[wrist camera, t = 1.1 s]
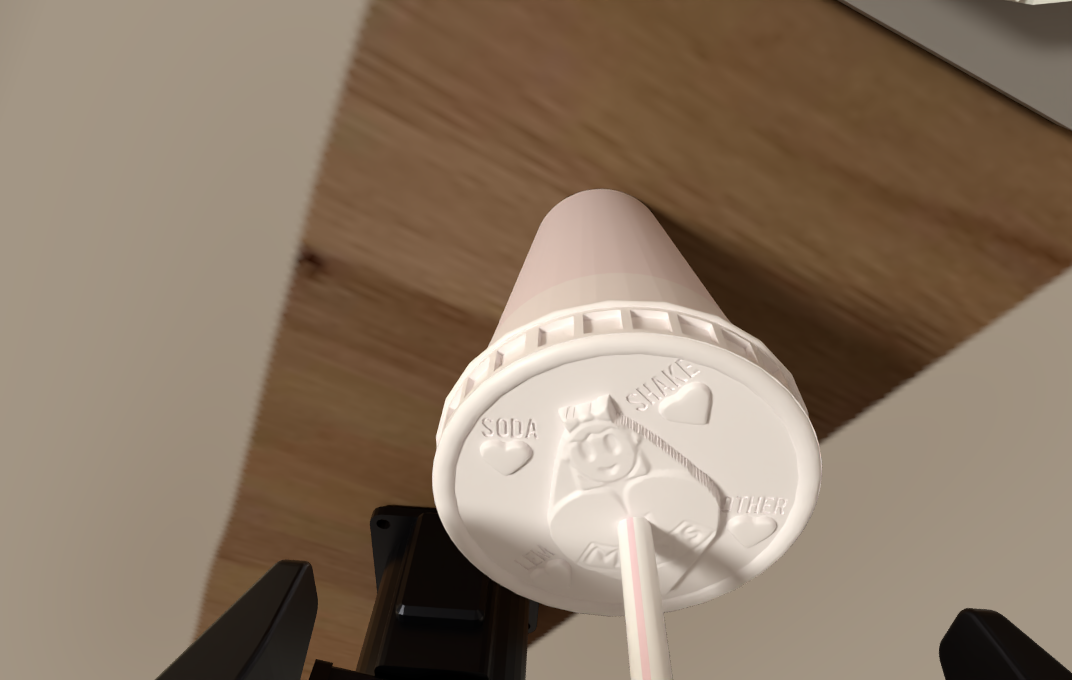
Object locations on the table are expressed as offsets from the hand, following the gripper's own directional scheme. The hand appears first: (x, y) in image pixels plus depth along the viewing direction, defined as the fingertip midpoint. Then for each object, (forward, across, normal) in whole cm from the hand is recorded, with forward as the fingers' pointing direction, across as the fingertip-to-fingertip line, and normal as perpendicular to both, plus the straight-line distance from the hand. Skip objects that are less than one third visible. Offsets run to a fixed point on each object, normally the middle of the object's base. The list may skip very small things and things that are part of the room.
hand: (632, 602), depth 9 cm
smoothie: (+12, 0, 0) cm, 12 cm away
